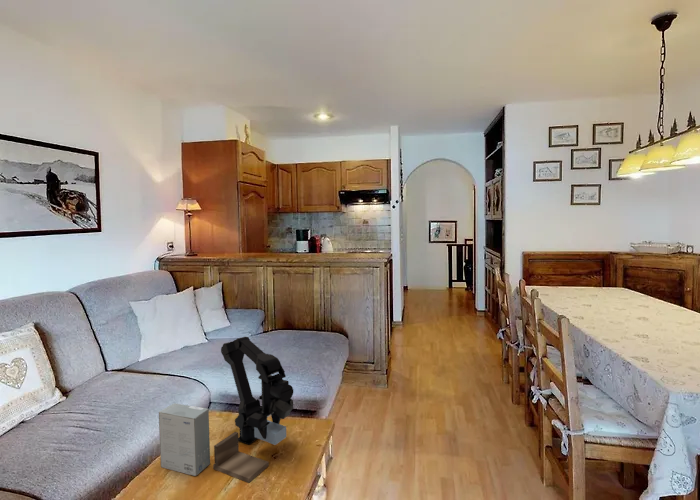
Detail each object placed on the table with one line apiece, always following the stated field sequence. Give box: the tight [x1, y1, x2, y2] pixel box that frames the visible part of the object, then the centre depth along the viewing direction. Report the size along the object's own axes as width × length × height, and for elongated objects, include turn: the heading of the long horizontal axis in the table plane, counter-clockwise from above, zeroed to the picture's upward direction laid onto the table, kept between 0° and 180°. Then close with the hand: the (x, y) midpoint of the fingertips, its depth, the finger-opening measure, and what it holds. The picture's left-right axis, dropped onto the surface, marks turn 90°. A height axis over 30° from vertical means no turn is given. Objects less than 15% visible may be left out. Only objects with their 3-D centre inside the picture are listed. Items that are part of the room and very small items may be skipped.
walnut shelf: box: [212, 431, 270, 483], centre depth 134 cm, size 16×10×8 cm, turn 63°
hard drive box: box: [158, 403, 211, 477], centre depth 135 cm, size 16×8×20 cm, turn 71°
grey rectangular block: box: [254, 419, 287, 446], centre depth 142 cm, size 10×6×4 cm, turn 59°
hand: (270, 434), depth 142 cm, fingers closed on grey rectangular block, 6 cm apart
